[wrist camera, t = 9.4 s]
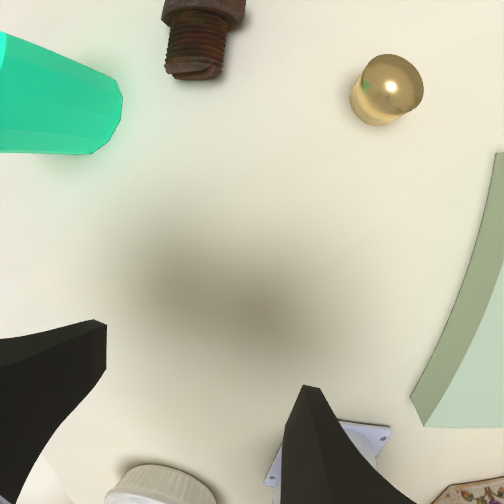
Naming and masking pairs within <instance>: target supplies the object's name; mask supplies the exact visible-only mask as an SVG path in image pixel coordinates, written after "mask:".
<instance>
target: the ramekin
mask: <svg viewBox="0 0 504 504" xmlns="http://www.w3.org/2000/svg"><path fill="white" fill-rule="evenodd" d="M105 504H216V500H215V498H214V496H213V494H212V493H211V491H210V490H209V489H208V488H207V487H206V486H205V485H204V484H203V483H202V482H200V481H199V480H197V479H196V478H194V477H192V476H190V475H188V474H186V473H184V472H182V471H179V470H176V469H173V468H170V467H166V466H162V465H154V464H148V465H141V466H138V467H135V468H133V469H131V470H130V471H128V472H127V473H126V474H125V475H124V477H123V478H122V479H121V480H120V481H119V482H118V484H117V485H116V486H115V487H114V488H113V489H111V490H110V491H109V492H108V493H107V495H106V497H105Z"/></svg>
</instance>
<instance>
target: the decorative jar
mask: <svg viewBox="0 0 504 504" xmlns="http://www.w3.org/2000/svg"><path fill="white" fill-rule="evenodd" d="M432 504H504V477H502V478H497V479H492V480H486V481H480V482H474V483H467V484H459V485H451V486H449V487H448V488H447V489H446V490H445V491H444V492H443V494H442V495H440V496H439V497H438V498H437V499H436V500H435V501H434V502H433V503H432Z"/></svg>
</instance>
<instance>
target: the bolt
mask: <svg viewBox="0 0 504 504" xmlns="http://www.w3.org/2000/svg"><path fill="white" fill-rule="evenodd" d="M245 5H246V0H165V3H164V7H163V12H162V16H161V20H162V21H163V22H164V23H165V24H166V25H167V26H169V27H171V28H170V31H171V32H170V34H169V36H170V37H169V40H168V41H169V42H168V48H167V54H166V57H167V58H166V59H165V62H166V64H165V65H164V67H165V68H166V72H167V73H168V74H172V76H173V77H174V78H175V79H180V80H204V79H210V78H214V77H215V76H216V75H217V74H219V73H221V72H222V70H221V69H220V68H222V67H223V65H222V64H221V63H222V62H223V60H222V58H223V56H224V55H223V54H222V53H223V52H224V49H223V48H224V47H225V44H224V43H225V40H226V39H225V37H226V33H227V32H228V31H230V30H232V29H234V28H235V27H236V26H237V25H238V24H239V22H240V21H241V19H242V18H243V16H244V13H245Z"/></svg>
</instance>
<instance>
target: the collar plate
mask: <svg viewBox="0 0 504 504" xmlns="http://www.w3.org/2000/svg"><path fill="white" fill-rule="evenodd" d="M410 397H411V400H412V402H413V404H414V406H415V408H416V411H417V413H418V415H419V418H420V420H421V422H422V424H423V427H436V428H502V427H504V153H496V157H495V163H494V169H493V175H492V180H491V185H490V190H489V195H488V199H487V203H486V208H485V212H484V216H483V220H482V224H481V227H480V231H479V235H478V238H477V242H476V245H475V248H474V252H473V255H472V258H471V261H470V264H469V267H468V270H467V273H466V276H465V279H464V282H463V284H462V287H461V290H460V292H459V295H458V298H457V300H456V303H455V305H454V308H453V310H452V313H451V315H450V317H449V320H448V322H447V325H446V327H445V329H444V331H443V334H442V336H441V338H440V340H439V342H438V344H437V347H436V349H435V351H434V353H433V355H432V357H431V359H430V361H429V363H428V365H427V367H426V369H425V371H424V373H423V375H422V377H421V378H420V380H419V382H418V384H417V386H416V388H415V389H414V391H413V393H412V395H411V396H410Z"/></svg>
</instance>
